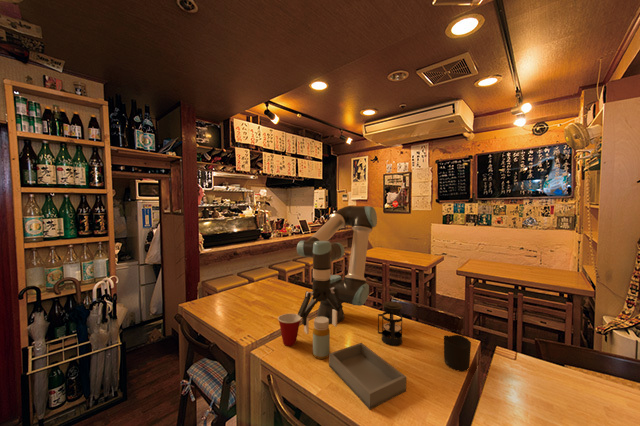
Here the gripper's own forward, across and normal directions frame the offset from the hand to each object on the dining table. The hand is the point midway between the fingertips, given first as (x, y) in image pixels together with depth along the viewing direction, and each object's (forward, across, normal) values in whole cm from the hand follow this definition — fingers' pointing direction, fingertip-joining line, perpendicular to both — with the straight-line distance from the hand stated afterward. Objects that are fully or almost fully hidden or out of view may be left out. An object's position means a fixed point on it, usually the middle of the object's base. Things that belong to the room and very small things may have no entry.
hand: (320, 328), depth 105 cm
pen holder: (+11, -44, +31) cm, 55 cm away
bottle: (+11, 0, 0) cm, 11 cm away
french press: (+11, -34, +6) cm, 37 cm away
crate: (+11, -8, +20) cm, 24 cm away
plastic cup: (+11, +8, -15) cm, 21 cm away
